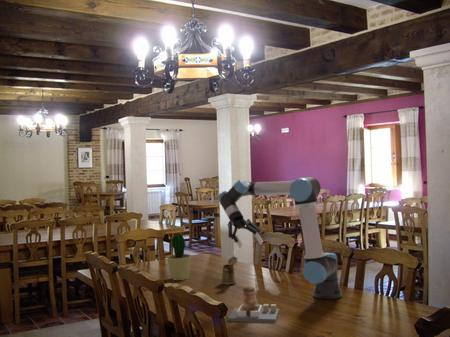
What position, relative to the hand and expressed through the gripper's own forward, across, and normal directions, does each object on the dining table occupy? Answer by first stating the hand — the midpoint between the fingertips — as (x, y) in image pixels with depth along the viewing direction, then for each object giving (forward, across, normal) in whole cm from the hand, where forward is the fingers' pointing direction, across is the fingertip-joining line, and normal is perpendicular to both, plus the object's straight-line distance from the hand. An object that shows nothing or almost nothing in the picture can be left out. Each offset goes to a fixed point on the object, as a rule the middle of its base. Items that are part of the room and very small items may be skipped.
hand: (251, 244), depth 257 cm
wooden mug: (-6, -10, -48) cm, 49 cm away
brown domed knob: (+34, +17, -6) cm, 39 cm away
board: (+36, +16, -6) cm, 40 cm away
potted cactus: (-30, +6, -72) cm, 79 cm away
